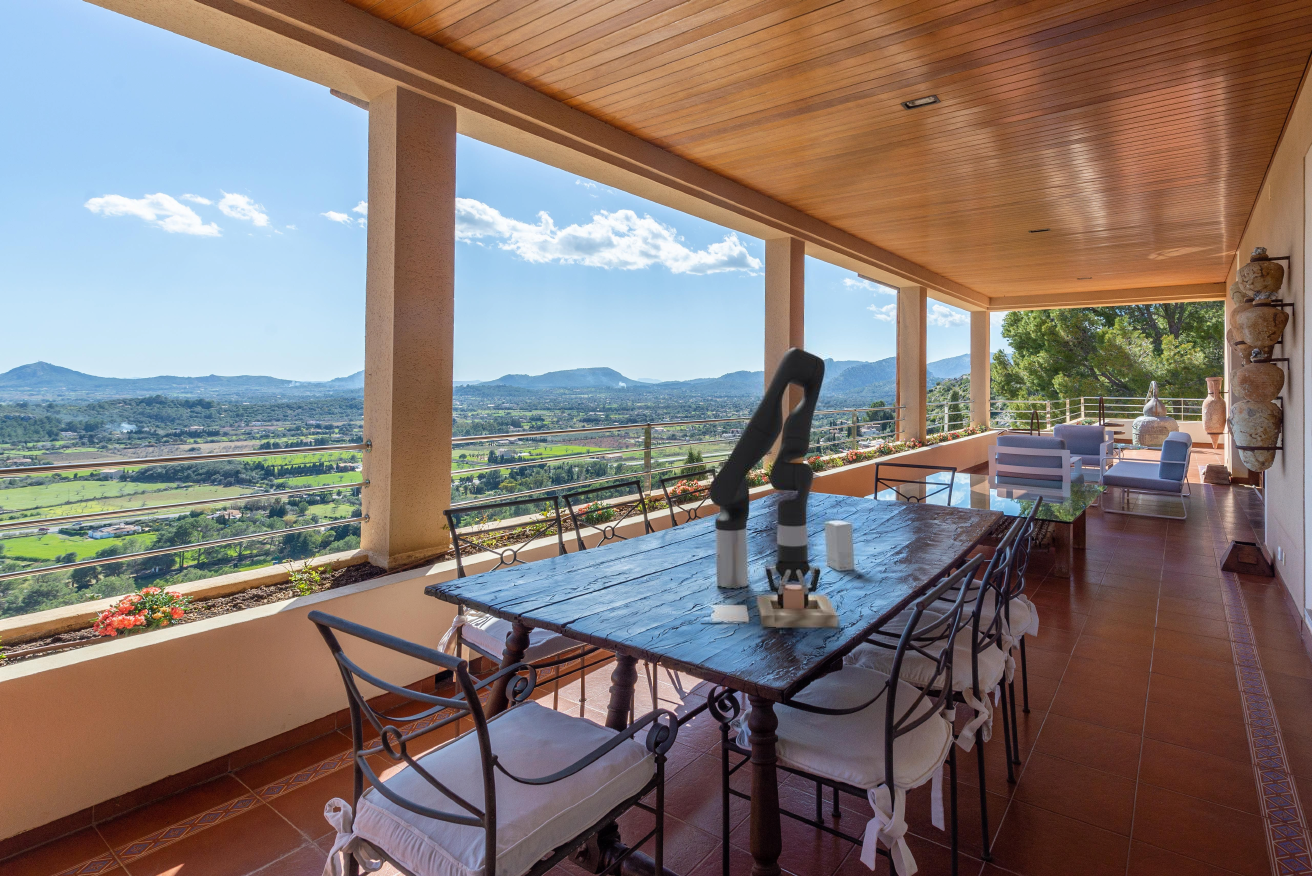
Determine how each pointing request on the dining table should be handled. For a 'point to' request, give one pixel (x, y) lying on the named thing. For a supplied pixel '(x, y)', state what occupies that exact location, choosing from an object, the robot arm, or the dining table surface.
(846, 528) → the skincare box
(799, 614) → the pocket plate
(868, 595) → the dining table surface
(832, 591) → the dining table surface
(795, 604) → the block
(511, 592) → the dining table surface
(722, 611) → the mat
